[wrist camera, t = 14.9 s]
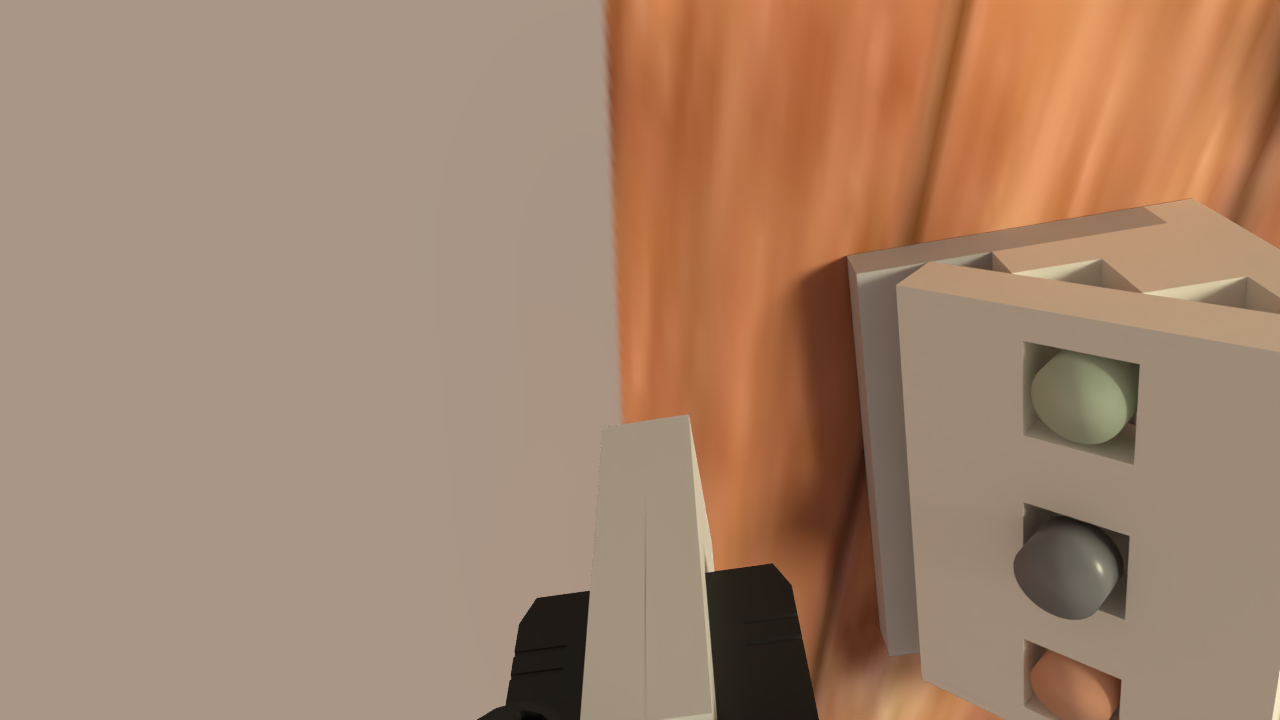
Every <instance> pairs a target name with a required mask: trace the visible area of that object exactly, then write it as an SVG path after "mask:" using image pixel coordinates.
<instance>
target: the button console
mask: <svg viewBox="0 0 1280 720" xmlns="http://www.w3.org/2000/svg"><path fill="white" fill-rule="evenodd" d="M847 264H848V275H849V286H850V297H851V309H852V320H853V331H854V342H855V354H856V365H857V376H858V387H859V398H860V410H861V421H862V432H863V443H864V455H865V466H866V477H867V488H868V500H869V511H870V522H871V533H872V544H873V556H874V567H875V578H876V589H877V601H878V612H879V623H880V630H881V633H882V636H883V639H884V642H885V646H886V649H887V652H888V655H889V657H892V656H900V655H907V654H915V653H920V658H921V673H922V679H923V680H925V681H927V682H929V683H931V684H933V685H935V686H937V687H939V688H941V689H943V690H945V691H947V692H949V693H951V694H953V695H956V696H958V697H960V698H962V699H964V700H966V701H968V702H970V703H972V704H974V705H976V706H978V707H980V708H982V709H984V710H987V711H989V712H991V713H993V714H995V715H997V716H999V717H1001V718H1003V719H1005V720H1062V719H1060V718H1058V717H1057V716H1056V715H1054V714H1053V713H1052V712H1051V711H1049V710H1048V709H1047V708H1046V707H1045V706H1044V705H1043V704H1042V702H1041V701H1040V700H1039V698H1038V697H1037V695H1036V694H1035V692H1034V690H1033V687H1032V684H1031V672H1032V669H1033V668H1034V666H1035V665H1036V664H1037V662H1038V661H1039V660H1040V658H1041V657H1042V656H1043V655H1044V653H1045V652H1046V651H1047V649H1049V650H1052V651H1054V652H1056V653H1059V654H1061V655H1064V656H1066V657H1068V658H1071V659H1073V660H1076V661H1078V662H1080V663H1083V664H1085V665H1088V666H1090V667H1092V668H1095V669H1097V670H1100V671H1102V672H1104V673H1107V674H1109V675H1111V676H1114V677H1116V678H1119V679H1121V680H1122V681H1121V698H1120V703H1119V705H1118V706H1117V708H1116V710H1115V711H1114V713H1113V714H1112V716H1111V717H1110V719H1109V720H1280V250H1279V249H1278V248H1276V247H1274V246H1273V245H1271V244H1269V243H1268V242H1266V241H1264V240H1262V239H1261V238H1259V237H1257V236H1256V235H1254V234H1252V233H1251V232H1249V231H1247V230H1246V229H1244V228H1242V227H1240V226H1239V225H1237V224H1235V223H1234V222H1232V221H1230V220H1229V219H1227V218H1225V217H1224V216H1222V215H1220V214H1218V213H1217V212H1215V211H1213V210H1212V209H1210V208H1208V207H1207V206H1205V205H1203V204H1202V203H1200V202H1198V201H1196V200H1195V199H1187V200H1181V201H1175V202H1169V203H1163V204H1157V205H1151V206H1144V207H1138V208H1132V209H1126V210H1120V211H1114V212H1108V213H1102V214H1096V215H1090V216H1084V217H1078V218H1072V219H1066V220H1060V221H1054V222H1048V223H1042V224H1036V225H1030V226H1024V227H1018V228H1012V229H1005V230H999V231H993V232H987V233H981V234H975V235H969V236H963V237H957V238H951V239H945V240H939V241H933V242H927V243H921V244H915V245H909V246H903V247H897V248H891V249H885V250H879V251H873V252H867V253H860V254H854V255H848V256H847ZM1062 349H1066V350H1071V351H1076V352H1081V353H1086V354H1091V355H1096V356H1101V357H1106V358H1111V359H1116V360H1121V361H1126V362H1131V363H1136V364H1140V370H1139V387H1138V404H1137V412H1136V414H1135V415H1134V416H1133V417H1132V418H1131V419H1130V420H1129V422H1128V423H1127V424H1126V425H1125V426H1124V427H1123V428H1122V430H1121V431H1120V432H1119V433H1118V434H1117V435H1116V436H1115V437H1113V438H1112V439H1110V440H1108V441H1106V442H1103V443H1098V444H1081V443H1077V442H1073V441H1070V440H1068V439H1065V438H1063V437H1062V436H1060V435H1058V434H1057V433H1055V432H1054V431H1052V430H1051V429H1050V428H1049V427H1048V426H1047V425H1046V424H1045V423H1044V422H1043V421H1042V420H1041V418H1040V417H1039V415H1038V414H1037V412H1036V410H1035V408H1034V405H1033V402H1032V397H1031V386H1032V382H1033V380H1034V377H1035V376H1036V374H1037V373H1038V372H1039V370H1040V369H1041V368H1043V367H1044V366H1045V365H1046V364H1047V363H1048V362H1049V361H1050V360H1051V359H1052V358H1053V357H1054V356H1055V355H1056V354H1057V353H1058V352H1059V351H1061V350H1062ZM1058 516H1068V517H1072V518H1075V519H1078V520H1081V521H1084V522H1087V523H1090V524H1093V525H1095V526H1097V527H1098V528H1099V529H1101V530H1102V531H1103V532H1105V533H1106V534H1107V535H1108V536H1109V537H1110V538H1111V539H1112V541H1113V542H1114V543H1115V544H1116V546H1117V548H1118V549H1119V551H1120V553H1121V556H1122V559H1123V566H1124V569H1123V574H1122V577H1121V579H1120V580H1119V582H1118V583H1117V584H1116V586H1115V587H1114V588H1113V590H1112V591H1111V593H1110V594H1109V595H1108V597H1107V598H1106V599H1105V601H1104V602H1103V603H1102V605H1101V606H1100V607H1099V609H1098V610H1097V611H1096V612H1095V613H1094V614H1093V615H1092V616H1090V617H1088V618H1086V619H1081V620H1069V619H1064V618H1060V617H1057V616H1054V615H1052V614H1050V613H1048V612H1046V611H1044V610H1043V609H1041V608H1040V607H1038V606H1037V605H1036V604H1034V603H1033V602H1032V601H1031V600H1030V599H1029V598H1028V597H1027V596H1026V595H1025V593H1024V592H1023V591H1022V589H1021V588H1020V586H1019V585H1018V583H1017V581H1016V578H1015V575H1014V569H1013V563H1014V559H1015V556H1016V554H1017V553H1018V552H1019V551H1020V549H1021V548H1022V547H1023V546H1024V545H1025V544H1026V543H1027V541H1028V540H1029V539H1030V538H1031V537H1032V536H1033V535H1034V533H1035V532H1036V531H1037V530H1038V529H1039V528H1040V526H1041V525H1042V524H1043V523H1044V522H1045V521H1047V520H1049V519H1051V518H1053V517H1058Z"/></svg>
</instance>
